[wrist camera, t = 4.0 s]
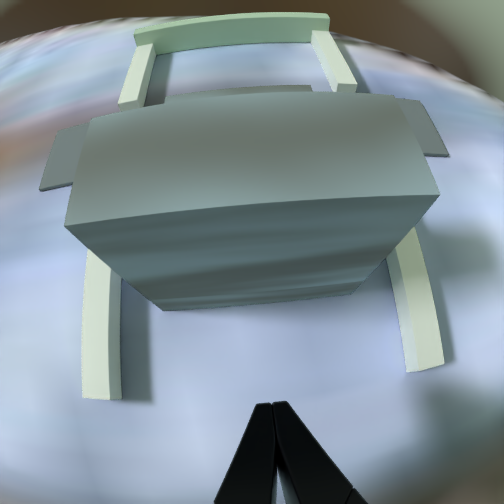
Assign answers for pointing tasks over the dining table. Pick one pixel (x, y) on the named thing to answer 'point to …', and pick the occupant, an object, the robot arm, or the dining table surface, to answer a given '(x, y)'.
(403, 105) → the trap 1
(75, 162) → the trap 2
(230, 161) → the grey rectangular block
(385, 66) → the dining table surface
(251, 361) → the dining table surface
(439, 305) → the dining table surface
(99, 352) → the pale green open frame
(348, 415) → the dining table surface
